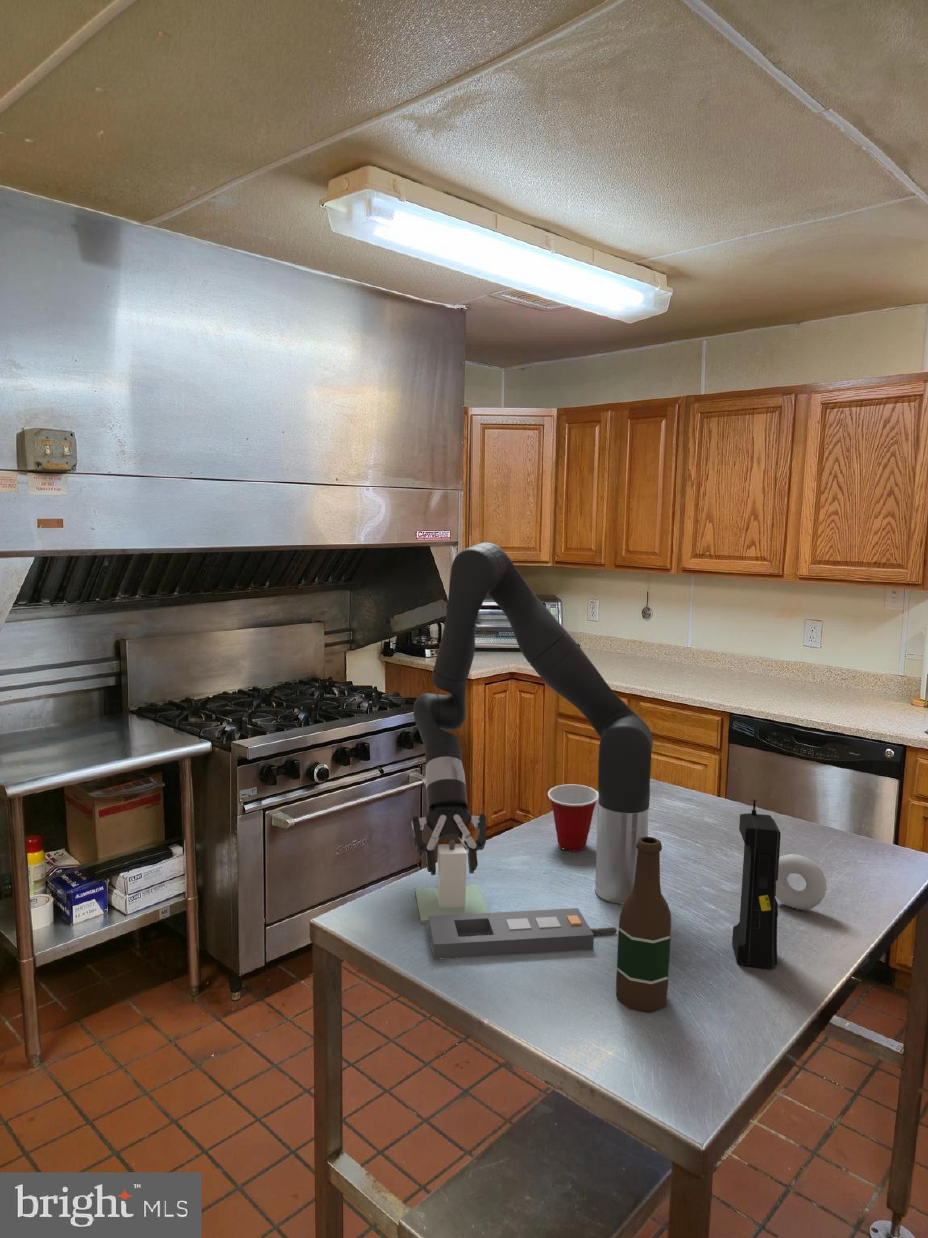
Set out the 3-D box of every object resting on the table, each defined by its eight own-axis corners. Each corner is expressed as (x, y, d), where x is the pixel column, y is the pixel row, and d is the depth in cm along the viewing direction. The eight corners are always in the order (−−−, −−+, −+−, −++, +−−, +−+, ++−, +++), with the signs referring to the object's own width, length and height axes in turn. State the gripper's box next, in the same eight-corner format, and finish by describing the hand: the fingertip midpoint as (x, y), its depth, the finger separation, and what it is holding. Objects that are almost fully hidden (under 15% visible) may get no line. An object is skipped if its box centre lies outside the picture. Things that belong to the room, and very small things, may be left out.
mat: (478, 887, 149) (478, 885, 149) (489, 919, 137) (489, 916, 137) (415, 891, 147) (415, 888, 147) (421, 923, 135) (421, 920, 135)
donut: (826, 912, 142) (830, 859, 140) (822, 920, 139) (826, 866, 138) (769, 896, 147) (772, 845, 146) (763, 903, 145) (767, 851, 143)
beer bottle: (608, 983, 118) (614, 830, 116) (658, 981, 119) (666, 829, 116) (622, 1015, 111) (630, 851, 108) (676, 1013, 111) (685, 851, 109)
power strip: (607, 920, 137) (608, 904, 137) (625, 947, 129) (626, 930, 128) (428, 930, 133) (428, 914, 132) (434, 959, 124) (434, 942, 124)
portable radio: (779, 974, 122) (790, 818, 119) (738, 969, 123) (748, 815, 120) (770, 948, 129) (780, 801, 126) (731, 943, 130) (740, 797, 127)
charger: (461, 896, 144) (463, 835, 143) (465, 907, 140) (466, 845, 139) (437, 897, 144) (438, 836, 142) (439, 908, 139) (440, 846, 138)
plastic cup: (537, 849, 167) (539, 794, 166) (558, 832, 176) (560, 780, 175) (584, 861, 161) (587, 804, 160) (604, 843, 170) (606, 790, 169)
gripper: (409, 778, 146) (413, 867, 135) (485, 776, 148) (496, 863, 137) (406, 796, 151) (411, 882, 141) (480, 793, 154) (490, 878, 143)
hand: (453, 872), depth 139 cm, fingers open, 6 cm apart
